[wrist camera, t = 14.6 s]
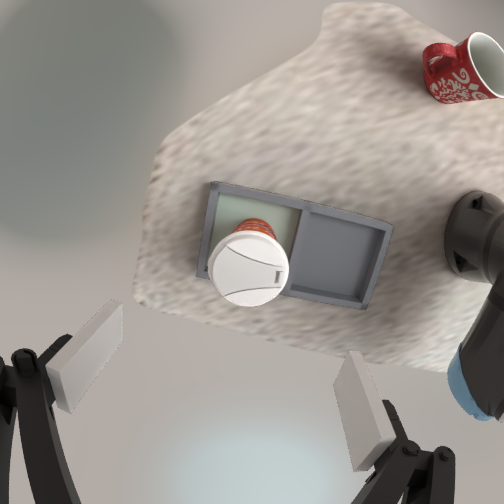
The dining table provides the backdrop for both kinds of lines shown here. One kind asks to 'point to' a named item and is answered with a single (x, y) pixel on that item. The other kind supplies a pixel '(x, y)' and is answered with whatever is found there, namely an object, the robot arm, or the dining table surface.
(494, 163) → the dining table surface
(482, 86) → the mug
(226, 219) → the cup carrier
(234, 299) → the paper cup
